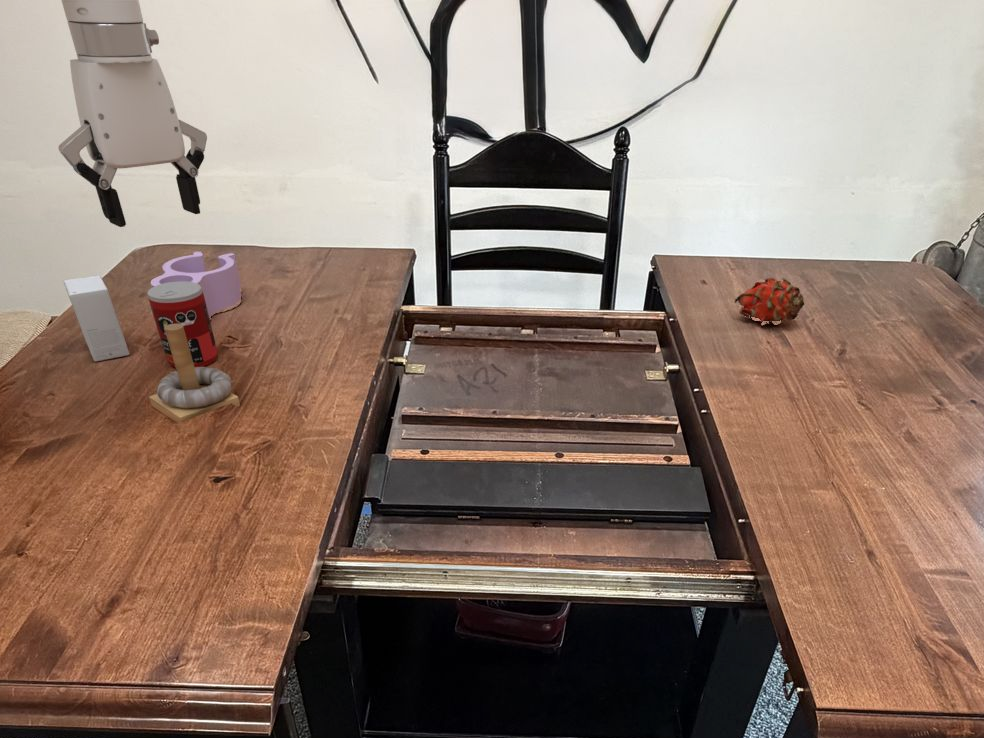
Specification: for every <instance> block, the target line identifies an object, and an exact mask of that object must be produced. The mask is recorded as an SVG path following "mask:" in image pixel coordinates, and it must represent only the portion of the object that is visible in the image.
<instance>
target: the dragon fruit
mask: <svg viewBox="0 0 984 738" xmlns="http://www.w3.org/2000/svg"><path fill="white" fill-rule="evenodd" d="M781 280H782V281H781ZM781 280H776V279H775V278H773V277H767V278H764V281H757V282H755V283H754V285H753V286H752V287H751V288H749V289H747V290H746V291H744V292H742V293H740V294H739V295H738V296H737V297H736V298H735V299H734V304H737V302H738V304H739V305H740V306H742V308H740V309H739V314H740V315H741V316H742V315H744V316H746V317H749V315H750V318H751V317H755V318H759V319H760V320H761V321H760V323H761V322H763V321H769V322H772V321H780V320H781V321H782V320H783V321H788V322H789V321H790V322H791V321H793V320H795V319H796V318H797V317H798V316H799V313H800V311H801V310H802V308H803V307H804V306H805V305H806V304H805V302H804V300H805V299H804V296H803V294H802V293H801V289H800V288H799V287H798V286H794V285H793V284H792V283H791V281H789V280H788V279H787V278H786V277H782V278H781ZM744 316H743V317H744ZM783 321H782V322H783Z"/></svg>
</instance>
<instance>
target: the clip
mask: <svg viewBox="0 0 984 738" xmlns="http://www.w3.org/2000/svg"><path fill="white" fill-rule="evenodd" d="M217 260H218V263H219V264H218V265H219V268H215V269H214V270H208V271H207V267H206V263H205V258H204V254H203V253H202V251H194V252H193V253H192V254H189V255H184V256H179V257H175V258H173V259H170V260H167V261H166V262H165V263H163V264H162V265H161V266H162V267H161V268H162V271H163V274H160V275H159V276H156V277H154V278H153V279H151V281H150V285H151V288H153V287H155V286H157V285H160V284H163V283H168V282H177V281H187V282H194V283H197V284H199V285H200V286H201V288H202V290H203V294H204V298H205V302H206V306H207V310H208V314H209V318H210V317H211V315H212V314H213V313H214V312H216V311H218V310H221V309H224V308H227V307H230V306H232V305H234V304H236V303H237V302H238V301H239V300H240V299H241V296H242V293H241V291H240V287H241V288H242V284H241V279H240V274H239V269H238V264H237V260H236V255H235V253H233V252H230V253H226V254H222V255H219V256H217Z"/></svg>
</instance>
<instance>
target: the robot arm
mask: <svg viewBox="0 0 984 738" xmlns="http://www.w3.org/2000/svg"><path fill="white" fill-rule="evenodd" d="M60 2H61V4H62V7H63V11H64V14H65V18H66V21H67V25H68V28H69V32H70V33H69V34H70V36H71V39H72V40H71V41H72V43H73V46H74V51H75V54H76V59H75V58H74V59H69V64H70V66H69V67H70V74H71V82H72V88H73V94H74V99H75V106H76V109H77V116H78V121H79V123H80V127H78V128H77V129H76V130H75V131H74V132H72V133H71V134H70V135H69V136H68V137H67V138H66V139H65V140H64V141H62V142H61V143H60V144H59V145H58V147H57V148H58V151H59V153H60V154H61V155H62V157H63V158H64V159H65V160H66V161H67V163H68V164H69V165H70V166H71V167H72V169H73V170H74V172H75V173H76V174H78V175H79V176H80V177H82V178H83V179H85V180H86V181H87V182H88V183H90V185H92V186H94V188H95V190H96V193H97V196H98V200H99V204H100V207H101V210H102V213H103V215H104V217H105V218H106V219H107V220H108V221H109V223H110V224H112V225H114V226H116V227H119V228H124V227H126V225H127V222H126V218H125V215H124V212H123V211H124V210H123V208H122V204H121V201H120V197H119V194H118V191H117V189H115V188H113V186H112V183H113V180H114V178H115V175H116V173H117V171H118V169H130V168H138V167H139V168H140V167H148V166H157V165H164V164H170V165H172V166H173V167H174V168H175V169H176V170H177V171H178V174H176V177H175V179H176V184H177V189H178V192H179V198H180V201H181V206H182V209H183V210H184V211H186V212H188V213H191V214H194V215H200V214H201V209H200V205H201V198H200V194H199V193H200V192H199V189H198V185H197V180H196V178H198V176H199V169H200V168H201V166H202V163H204V161H205V154H204V153H205V151H206V145H207V140H208V134H207V133H206V132H205V131H204V130H201V129H199V128H197V127H195V126H193V125H191V124H189V123H187V122H185V121H183V120H181V119H179V117H178V113H177V110H176V107H175V104H174V100H173V98H172V97H173V96H172V94H171V91H170V88H169V85H168V83H167V80H166V77H165V75H164V72H163V70H162V66H161V65H160V63H159V60H158V59H156V58H153V57H152V53H153V50H152V47H153V46H154V45H159V44H160V39H159V34H158V32H157V31H156V30H155V29H149V28H148V27H147V24H146V23H145V22H144V18H143V14H142V9H141V5H140V0H61V1H60ZM183 136H185V137H187V138H189V140H190V149H189V150H188V151H187V153H186V149H185V148H186V147H185V141H184V137H183ZM84 148H86V151H87V153H88V156H89V158H90V159H91V160H92V161H94V164H93V166H92V167H91V166H89V164H87V163H86V162H85V161H84V159H83V158H82V157H81V154H80V153H81V151H82V150H83V149H84Z"/></svg>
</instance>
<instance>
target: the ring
mask: <svg viewBox="0 0 984 738" xmlns="http://www.w3.org/2000/svg"><path fill="white" fill-rule="evenodd" d="M195 371H196V375H197V378H198V382H199V384H208V385H210V386H207V387H204V388H201V389H195V390H179V389H181V388H182V387H181V384H180V380H179V377H178V373H177V370H176V371H172V372H169V374H167V375H165V376H164V377H163V378H161V379H160V380H159V381H158V383H157V389H156V394H157V395H158V397H159V398H160V399H161V400H162V401H164V402H165V403H167V404H168V405H170V406H173V407H180V408H197V407H205V406H208V405H211V404H214V403H217V402H220V401H221V400H223V399H224V398H225V397H226V396H227V395H229V394H230V392H231V393H232V383H233V382H232V378H231V377H230V375H229V374H227V373H226V372H224V371H222V370H220V369H219V368H217V367H215V368H214V367H208V366H204V367H195Z"/></svg>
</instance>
